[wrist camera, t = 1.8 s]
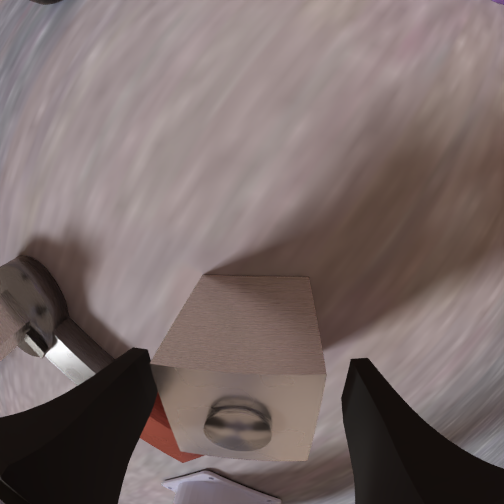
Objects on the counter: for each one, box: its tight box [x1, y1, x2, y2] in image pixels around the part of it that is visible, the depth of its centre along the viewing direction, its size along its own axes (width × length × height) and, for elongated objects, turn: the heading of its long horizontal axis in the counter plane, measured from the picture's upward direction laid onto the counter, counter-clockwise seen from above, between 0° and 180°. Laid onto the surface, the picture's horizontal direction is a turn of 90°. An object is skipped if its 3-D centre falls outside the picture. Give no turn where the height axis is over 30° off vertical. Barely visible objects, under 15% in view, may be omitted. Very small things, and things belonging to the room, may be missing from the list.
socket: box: [150, 275, 327, 461], centre depth 10 cm, size 5×5×6 cm
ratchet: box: [0, 256, 204, 463], centre depth 13 cm, size 18×6×5 cm, turn 46°
